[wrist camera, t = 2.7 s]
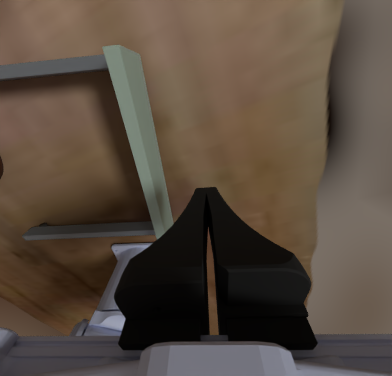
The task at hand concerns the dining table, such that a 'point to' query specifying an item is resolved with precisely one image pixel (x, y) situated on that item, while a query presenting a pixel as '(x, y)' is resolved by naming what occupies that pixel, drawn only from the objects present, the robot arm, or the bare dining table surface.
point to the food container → (1, 168)
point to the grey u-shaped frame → (136, 131)
